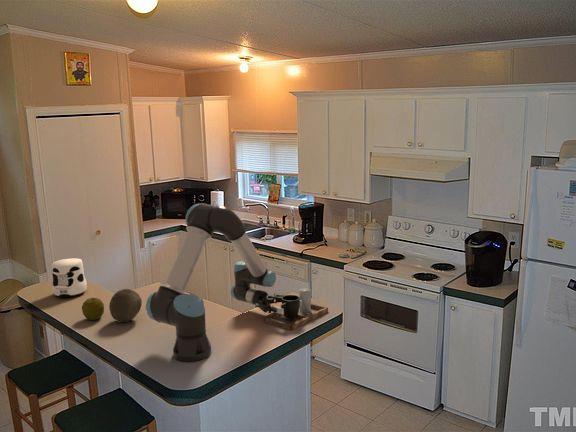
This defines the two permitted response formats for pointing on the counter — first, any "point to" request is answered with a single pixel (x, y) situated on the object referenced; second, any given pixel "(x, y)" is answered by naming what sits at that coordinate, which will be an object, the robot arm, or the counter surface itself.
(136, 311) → the cantaloupe
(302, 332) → the counter surface
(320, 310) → the frame
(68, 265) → the white trooper helmet
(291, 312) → the mug
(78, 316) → the counter surface
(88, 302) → the apple
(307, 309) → the grey upright cylinder
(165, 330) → the counter surface
